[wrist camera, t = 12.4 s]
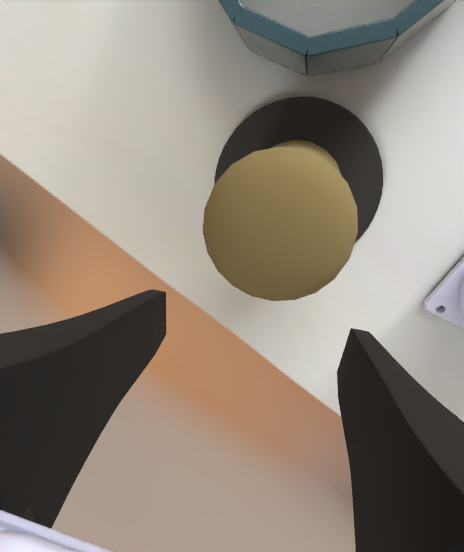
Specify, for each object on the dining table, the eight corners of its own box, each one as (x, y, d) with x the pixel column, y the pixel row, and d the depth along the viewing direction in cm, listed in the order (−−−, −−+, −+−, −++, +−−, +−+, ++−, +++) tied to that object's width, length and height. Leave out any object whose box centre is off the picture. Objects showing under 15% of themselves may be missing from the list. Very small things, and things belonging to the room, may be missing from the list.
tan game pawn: (234, 221, 20) (161, 290, 10) (262, 126, 17) (200, 97, 8) (318, 251, 19) (326, 354, 10) (361, 157, 17) (432, 171, 7)
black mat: (421, 144, 16) (424, 144, 16) (323, 290, 21) (323, 293, 21) (254, 66, 17) (253, 65, 16) (195, 226, 21) (193, 228, 21)
